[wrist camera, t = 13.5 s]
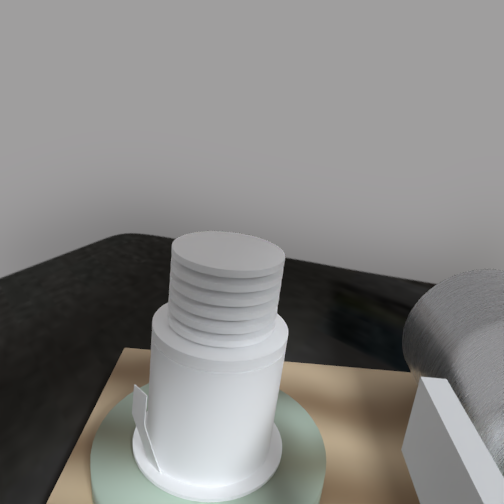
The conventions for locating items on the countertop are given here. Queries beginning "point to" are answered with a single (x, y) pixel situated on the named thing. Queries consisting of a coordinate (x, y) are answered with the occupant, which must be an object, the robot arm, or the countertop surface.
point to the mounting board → (331, 406)
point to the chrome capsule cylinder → (464, 347)
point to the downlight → (214, 370)
